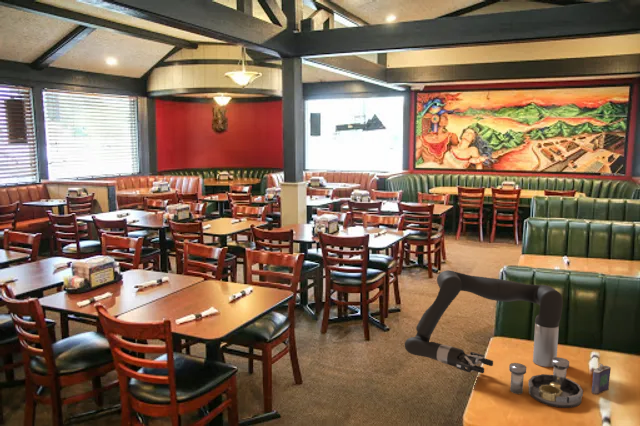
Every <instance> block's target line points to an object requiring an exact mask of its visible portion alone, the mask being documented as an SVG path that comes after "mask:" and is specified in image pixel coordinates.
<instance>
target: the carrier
mask: <svg viewBox="0 0 640 426" xmlns="http://www.w3.org/2000/svg"><path fill="white" fill-rule="evenodd" d="M552 365H553V369H552V370H553V373H552V374H546V373H543V374H542V373H541V374H536V375H532V376H531V377H530V378H529V379H528V384H527V385H528V394H529V395H530V396H531V398H532V399H534V400H535V401H537V402H539V403H540V404H543V405H546V406H548V407H554V408H560V409H562V408H563V409H570V408H572V409H573V408H575V407H578V406H580V405H581V404H582V397H583V394H584V390H583V388H582V386H581V385H580V384H579V383H578V382H576V381H574V380H572V379H571V378H567V369H569V368H570V361H569V360H568V359H567V358H564V357H558V356H557V357H555V358H552Z"/></svg>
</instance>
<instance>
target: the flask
mask: <svg viewBox="0 0 640 426" xmlns="http://www.w3.org/2000/svg"><path fill="white" fill-rule="evenodd" d="M598 365H599V366H598V367H597V368H595V369H594V370H593V371H592V372H593V373H592V385H591V394H592V395H596V396H597V395H600V394H602V393H604V392H606V391H609V389H610V388H609V387H610V379H611V378H610V376H611V369H612V368H611V367H610V366H608V365H604V364H603V363H598Z"/></svg>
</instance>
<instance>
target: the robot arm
mask: <svg viewBox="0 0 640 426" xmlns="http://www.w3.org/2000/svg"><path fill="white" fill-rule="evenodd" d="M436 282H437V286H438V288H439V290H438V293H437V295H436V297H435V299H434V301H433V303H432V304H431V305H430V306H429V307H428V308H427V309H426V310H425V311H424V313H423V314H422V316H421V317H420V320H419V321H418V322H417V325H416V326H415V328H416V329H415V330H416V334H415V336H411V337H409V338H406V340H405V342H404V349H405V350H406V352H408V353H409V354H411V355H414V356H418V357H425V358H429V359H431V360H435V361H437V362H440V363H442V364H445V365H447V366H452V367H454V368H456V369H458V370H461V371H463V372H466V373H471V372H476V373H480V374H484V373H485V368H484V367H483V366H481V365H480V366H479V364H483V365H486V366H489V367H493V366H494V361H493V360H492V359H488V358H485V355H484V354H482V353H477V352H473V351H469V352H470V353H469V354H466V353H465V351H464V349H462V348H459V347H455V346H451V345H447V344H442V343H438V342H436V341H431V338H432V337H431V336H432V334H433V332H434V330H435V329H436V327H437V325H438V323H439V322H440V320H441V318H442V316H444V313H445V312H446V310H447V309H448V308H449V306H450V305H451V304H452V302H453V301H454V300H455V299H456V298H457V296H458V295H459V294H460V293H461V292H467V293H471V294H474V295H476V296H478V297H481V298H484V299H487V300H491V301H497V302H503V303H504V302H509V303H510V302H518V301H524V302H529V303H533V304H536V305H538V306H539V313H538V314H537V315H536V316H535V319H534V337H533V351H532V362H533V363H534V364H536V365H537V366H540V367H546V368H552V367H553V368H554V366H553V365H552V358H555V357H558V344H559V328H560V322H561V320H562V313H563V307H564V306H563V304H564V301H563V299H564V298H563V296H562V294H561V292H560V291H558V290H557V289H555V288H553V287H552V286H550V285H543V284H530V283H529V284H528V283H527V284H526V283H521V282H518V281H512V280H507V279H501V278H493V277H486V276H478V275H469V274H465V273H461V272H458V271H455V270H448V269H447V270H444V271H441V272H440V273H439V274H438V275H437V277H436Z"/></svg>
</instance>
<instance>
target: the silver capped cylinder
mask: <svg viewBox="0 0 640 426" xmlns="http://www.w3.org/2000/svg"><path fill="white" fill-rule="evenodd" d="M508 371H509V372H510V373H511V374H510V387H509V388H510V389H509V390H510V392H511V393H512V394H515V395H522V394H523V392H524V391H523V390H524V375H525V374H527V366H526V365H524V364H523V363H518V362H513V363H512V362H511V363H510V364H509V366H508Z"/></svg>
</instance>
